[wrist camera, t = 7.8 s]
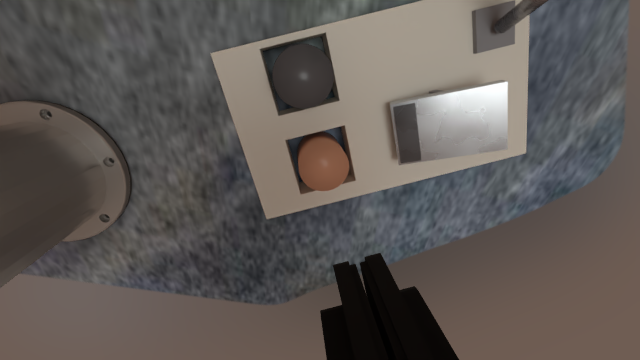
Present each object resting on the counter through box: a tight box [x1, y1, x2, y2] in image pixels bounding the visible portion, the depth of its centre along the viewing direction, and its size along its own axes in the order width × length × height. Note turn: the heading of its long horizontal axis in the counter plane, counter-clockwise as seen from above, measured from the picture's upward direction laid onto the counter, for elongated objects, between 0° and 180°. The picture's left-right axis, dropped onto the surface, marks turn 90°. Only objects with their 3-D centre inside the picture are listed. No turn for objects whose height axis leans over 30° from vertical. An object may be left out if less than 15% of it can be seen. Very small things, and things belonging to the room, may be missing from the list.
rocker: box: [390, 80, 508, 165], centre depth 23 cm, size 8×5×1 cm, turn 103°
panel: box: [210, 0, 529, 219], centre depth 25 cm, size 24×14×4 cm, turn 103°
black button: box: [272, 44, 334, 109], centre depth 22 cm, size 4×4×4 cm
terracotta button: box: [297, 131, 349, 191], centre depth 26 cm, size 4×4×4 cm
